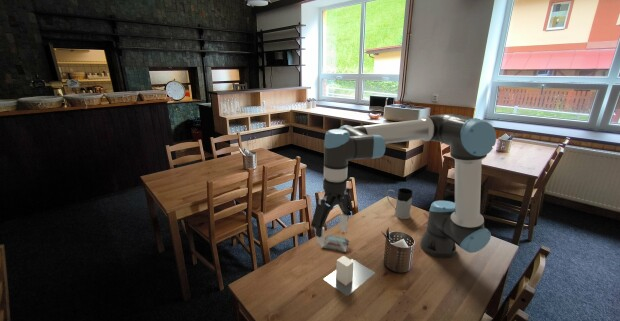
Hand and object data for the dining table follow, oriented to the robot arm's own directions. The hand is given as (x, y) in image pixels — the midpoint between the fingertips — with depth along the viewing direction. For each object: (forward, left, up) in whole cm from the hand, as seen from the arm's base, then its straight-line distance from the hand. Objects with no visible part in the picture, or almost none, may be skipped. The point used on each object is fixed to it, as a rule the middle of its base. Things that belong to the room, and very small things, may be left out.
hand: (332, 237), depth 99 cm
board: (-8, -8, -24) cm, 27 cm away
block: (-6, -6, -23) cm, 24 cm away
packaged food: (-4, -28, -25) cm, 37 cm away
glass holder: (-42, -61, -24) cm, 78 cm away
